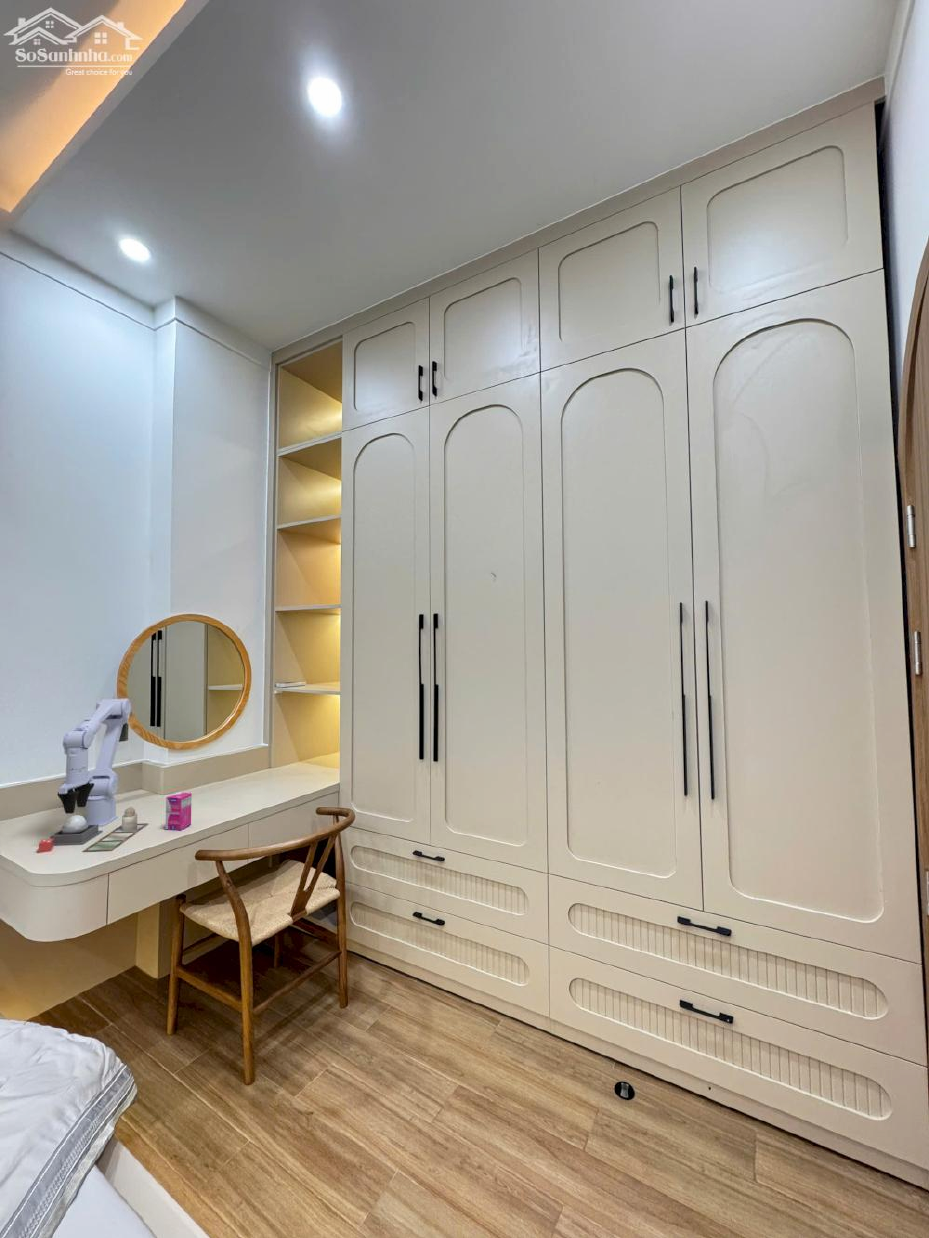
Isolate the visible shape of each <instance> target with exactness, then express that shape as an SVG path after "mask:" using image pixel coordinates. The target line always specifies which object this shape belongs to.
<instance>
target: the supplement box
mask: <svg viewBox="0 0 929 1238" xmlns="http://www.w3.org/2000/svg"><path fill="white" fill-rule="evenodd" d="M192 797H193V796H192V793H191V792H181V791H180V792H179V791H177V792H175V793H173V794H171V795H169V796H166V798H165V831H174V832H182V831H183V830H185V829H187V828H189V827H191V826H192V799H193V798H192ZM190 825H191V826H190Z"/></svg>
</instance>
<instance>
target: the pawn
mask: <svg viewBox="0 0 929 1238" xmlns="http://www.w3.org/2000/svg"><path fill="white" fill-rule="evenodd" d="M123 813H124V815H122V816H121V825H122V831H132V830H135V829H137V824H138V813H136V809H135V808H134V807H132V806H131V807H127V808H125V810H124V812H123Z"/></svg>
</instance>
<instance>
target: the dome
mask: <svg viewBox="0 0 929 1238" xmlns="http://www.w3.org/2000/svg"><path fill="white" fill-rule="evenodd" d="M88 825H89V823H88V822H86V817H84V816H82V815H79V814H78V815H77V814H75V815H72V816H70V817H68V818H67V820H66V821H65V823H64V825H63V826H61V830H62V835H69V834H80V833H83V832H85V831H87V830H88Z"/></svg>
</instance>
